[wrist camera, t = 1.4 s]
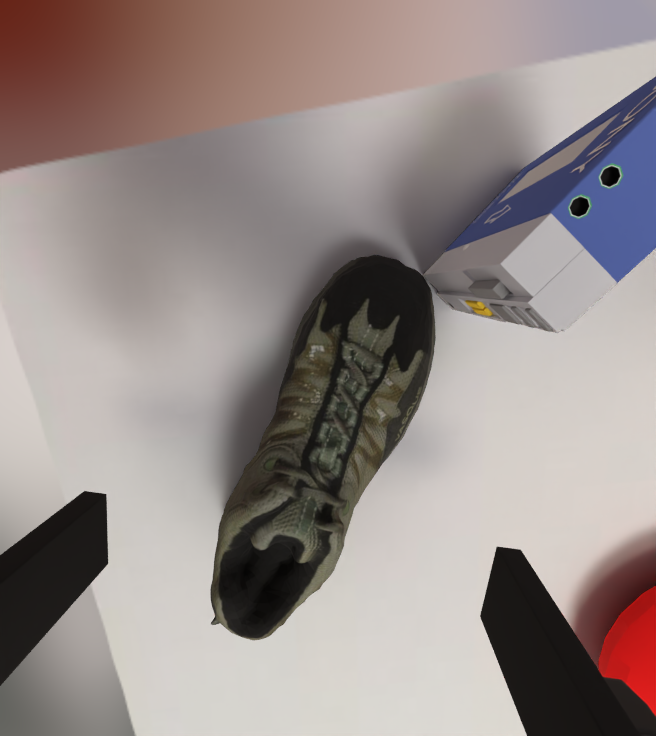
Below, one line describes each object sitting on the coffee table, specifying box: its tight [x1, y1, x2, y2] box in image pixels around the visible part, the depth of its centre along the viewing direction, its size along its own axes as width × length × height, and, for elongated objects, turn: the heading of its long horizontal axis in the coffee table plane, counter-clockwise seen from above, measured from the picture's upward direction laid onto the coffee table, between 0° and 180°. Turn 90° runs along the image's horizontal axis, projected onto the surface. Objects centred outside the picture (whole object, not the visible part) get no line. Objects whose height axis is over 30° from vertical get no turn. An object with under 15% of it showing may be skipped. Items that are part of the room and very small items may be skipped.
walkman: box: [423, 77, 656, 333], centre depth 15 cm, size 8×3×12 cm, turn 138°
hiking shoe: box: [211, 255, 435, 640], centre depth 19 cm, size 8×21×9 cm, turn 157°
